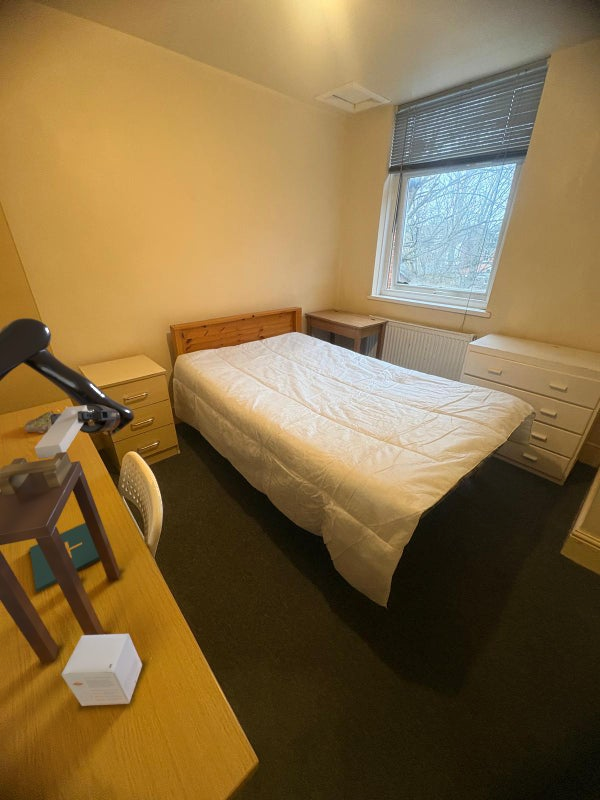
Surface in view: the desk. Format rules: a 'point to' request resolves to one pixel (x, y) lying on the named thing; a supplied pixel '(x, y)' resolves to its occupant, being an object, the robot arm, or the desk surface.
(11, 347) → the robot arm
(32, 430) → the rock
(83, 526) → the board
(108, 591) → the desk surface
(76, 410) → the stone bar
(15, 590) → the stand
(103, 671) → the small box
